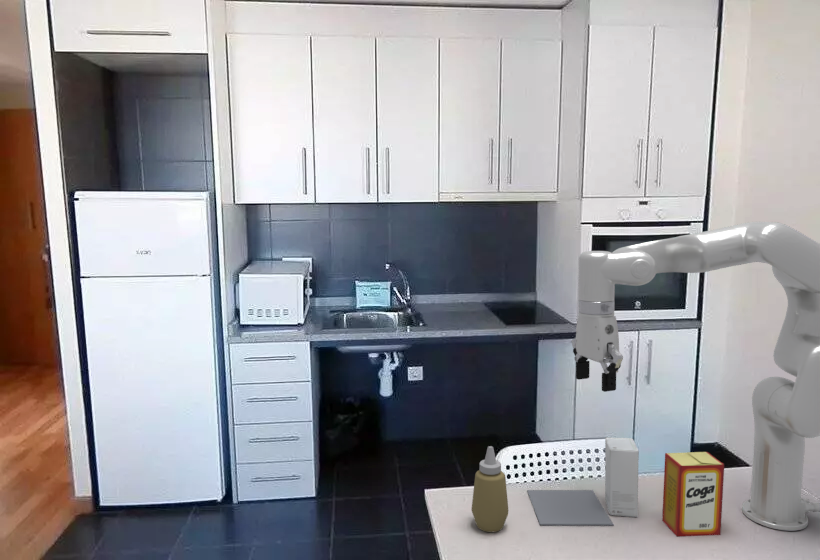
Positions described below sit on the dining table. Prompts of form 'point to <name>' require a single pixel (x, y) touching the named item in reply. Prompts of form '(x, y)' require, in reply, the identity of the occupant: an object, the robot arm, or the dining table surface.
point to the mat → (568, 508)
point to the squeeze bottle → (490, 494)
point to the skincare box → (621, 476)
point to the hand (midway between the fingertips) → (595, 384)
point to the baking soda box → (693, 493)
